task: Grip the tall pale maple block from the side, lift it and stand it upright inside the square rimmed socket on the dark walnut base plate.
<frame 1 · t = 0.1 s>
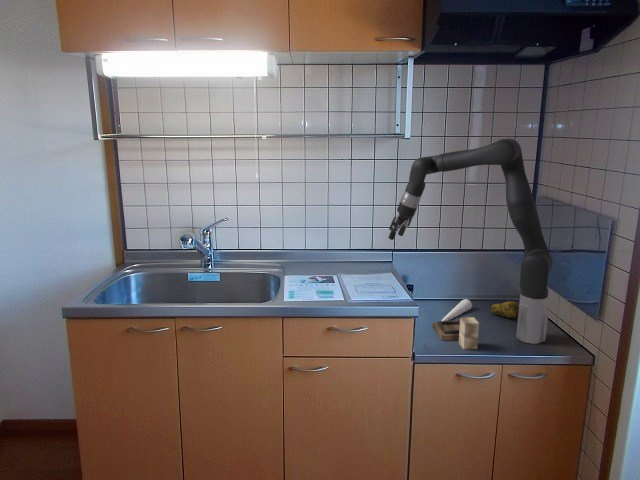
hand: (395, 237, 207), 31 cm above the table, tool tilted 20°, fingers open, 8 cm apart
potato: (506, 318, 201), on the table
walnut base: (452, 333, 187), on the table
maple pillar: (467, 346, 176), on the table
unicorn horn: (455, 317, 204), on the table
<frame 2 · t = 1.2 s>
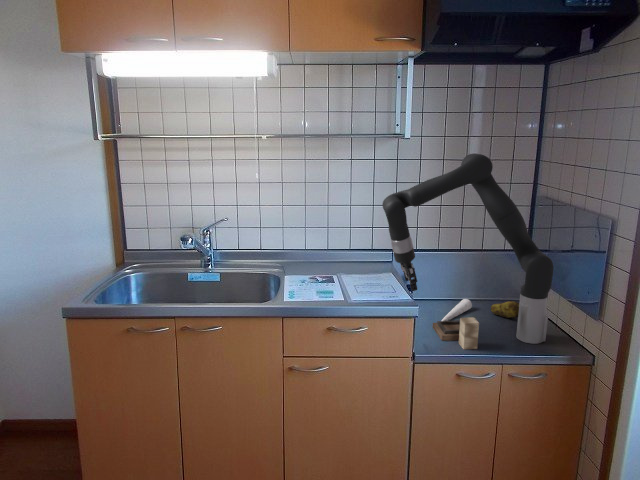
hand: (411, 285, 186), 19 cm above the table, tool tilted 20°, fingers open, 8 cm apart
nothing on the table moved.
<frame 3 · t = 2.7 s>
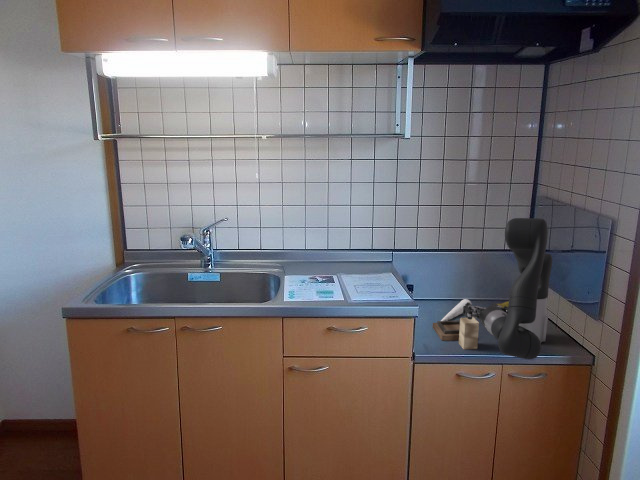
hand: (480, 305, 161), 20 cm above the table, tool horizontal, fingers open, 8 cm apart
nothing on the table moved.
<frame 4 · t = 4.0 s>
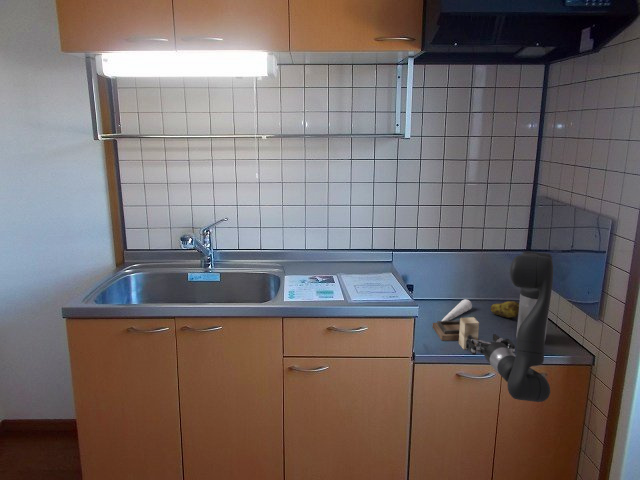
hand: (481, 337, 163), 9 cm above the table, tool horizontal, fingers open, 8 cm apart
nothing on the table moved.
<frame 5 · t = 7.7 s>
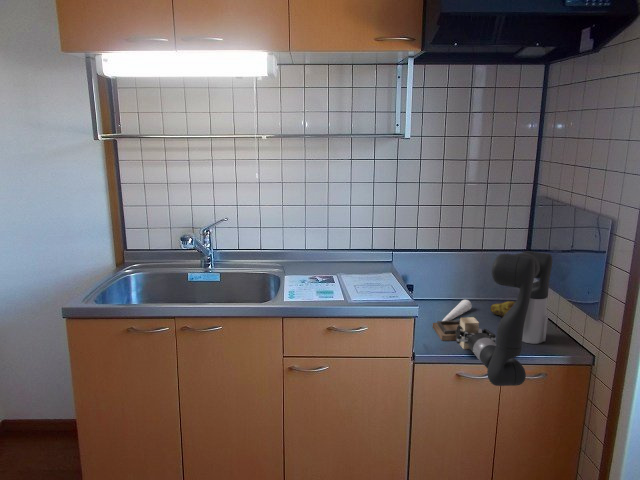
hand: (466, 327, 177), 6 cm above the table, tool horizontal, fingers closed on maple pillar, 5 cm apart
maple pillar: (467, 345, 176), on the table, touching gripper
everything else where it was.
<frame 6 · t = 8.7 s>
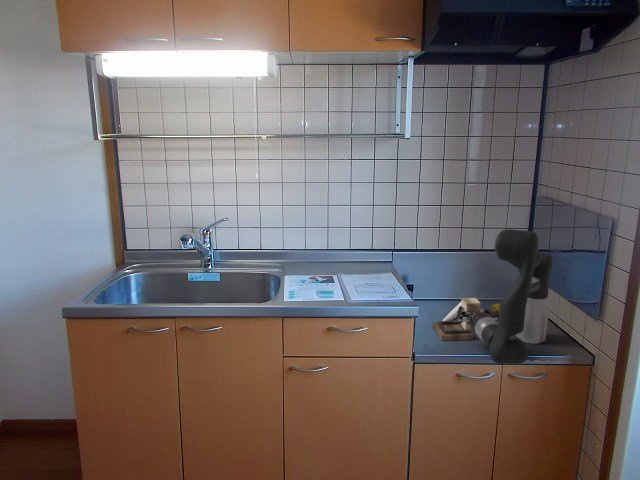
hand: (467, 308, 176), 13 cm above the table, tool horizontal, fingers closed on maple pillar, 5 cm apart
maple pillar: (469, 326, 175), point 7 cm above the table, touching gripper
everything else where it was.
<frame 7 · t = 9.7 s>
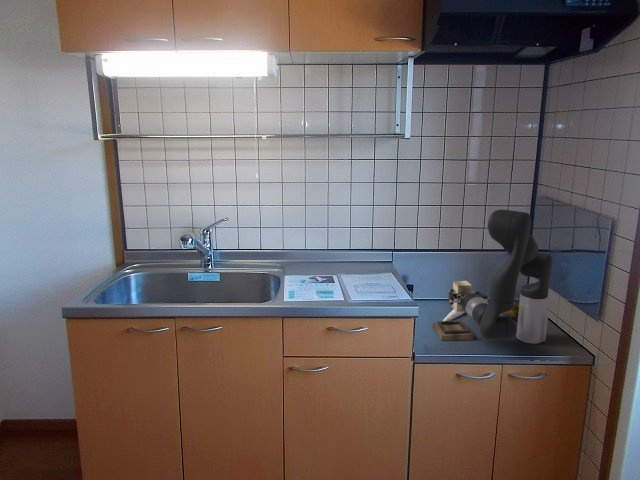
hand: (459, 291, 181), 18 cm above the table, tool horizontal, fingers closed on maple pillar, 5 cm apart
maple pillar: (460, 308, 179), point 12 cm above the table, touching gripper
everything else where it was.
when the fingers open (9 cm above the table, at t = 13.1 s): maple pillar stays where it is, resting on walnut base.
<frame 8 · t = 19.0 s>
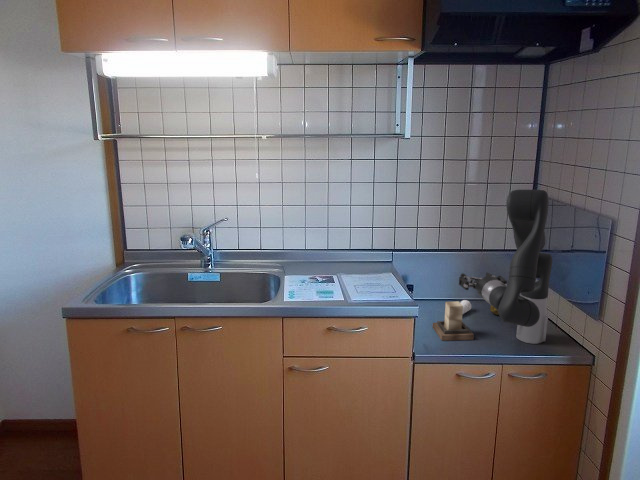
hand: (474, 275, 166), 28 cm above the table, tool horizontal, fingers open, 8 cm apart
maple pillar: (452, 328, 186), point 2 cm above the table, touching walnut base
at the end: maple pillar 0.0 cm off-centre on the walnut base, point 2.0 cm above the walnut base's base; maple pillar tilted 0°; the gripper is holding nothing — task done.
